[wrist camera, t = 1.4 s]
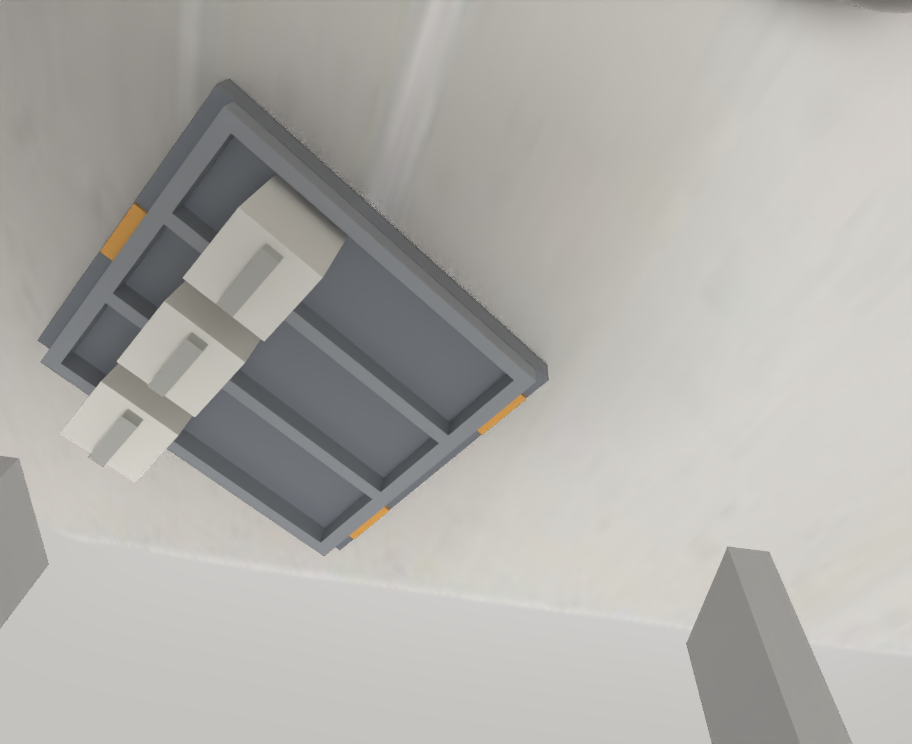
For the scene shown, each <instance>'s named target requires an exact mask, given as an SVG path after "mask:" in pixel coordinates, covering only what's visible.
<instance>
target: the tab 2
mask: <svg viewBox="0 0 912 744" xmlns="http://www.w3.org/2000/svg"><path fill="white" fill-rule="evenodd" d="M147 386H148V384H147V383H146V382H144V381H143V380H142V379H140V378H139V377H137V376H136V375H134V374H133V373H132V372H130V371H129V370H127V369H126V368H125V367H123V366H122V365H120V364H119V363H118V364H117V365H116V366H115V368H114V369H113V370H112V371H111V372H110V373H109V374H108V375H107V376H106V377H105V378H104V379H103V380H102V381H101V382H100V383H99V384H98V386H97V387H96V388H95V389H94V391H93V392H92V393H91V394H90V396H89V397H88V398H87V399H86V401H85V402H84V403H83V405H82V406H81V407H80V408H79V410H78V411H77V412H76V413H75V415H74V416H73V417H72V418H71V420H70V421H69V422H68V424H67V425H66V426H65V427H64V429H63V430H62V431H61V432H60V434H61V435H62V436H64V437H65V438H67V439H68V440H70V441H71V442H73V443H74V444H76V445H77V446H79V447H81V448H82V449H84V450H85V451H87V452H88V453H90V455H89V456H88V458H90V459H91V460H93V461H95V462H96V463H98V464H99V465H101V466H102V467H103V466H104V465H105V464H106V465H108V466H109V467H111V468H113V469H114V470H116V471H117V472H119V473H120V474H122V475H123V476H125V477H126V478H128V479H129V480H131V481H132V482H134V483H135V482H136V481H137V480H138V479H139V478H140V477H141V476H142V475H143V474H144V473H145V472H146V470H147V469H148V468H149V467H150V466H151V465H152V464H153V463H154V462H155V461H156V460H157V458H158V457H159V456H160V455H161V454H162V453H163V452H164V451H165V450H166V449H167V447H168V446H169V445H170V444H171V443H172V442H173V441H174V440H175V439H176V438H177V437H178V435H179V434H180V433H181V431H182V430H183V428H184V427H185V426H186V424H187V423H188V421H189V420H190V419H191V417H192V415H191V414H189V413H188V412H187V411H185V410H184V409H182V408H181V407H180V406H178V405H177V404H175V403H174V402H172V401H171V400H170V399H168V398H167V397H165V396H164V397H162V396H160V395H159V394H157V393H156V392H154V391H153V390H152V389H150V388H149V387H147Z"/></svg>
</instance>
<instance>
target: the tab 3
mask: <svg viewBox="0 0 912 744" xmlns="http://www.w3.org/2000/svg"><path fill="white" fill-rule="evenodd" d="M347 237H348V235H347V234H346V233H345V232H344V231H342V230H341V229H340V228H339V227H338V226H337V225H336V224H334V223H333V222H332V221H331V220H330V219H329V218H328V217H326V216H325V215H324V214H323V213H322V212H321V211H320V210H318V209H317V208H316V207H315V206H314V205H313V204H312V203H310V202H309V201H308V200H307V199H306V198H305V197H304V196H302V195H301V194H300V193H299V192H298V191H297V190H296V189H294V188H293V187H292V186H291V185H290V184H289V183H287V182H286V181H285V180H284V179H283V178H282V177H281V176H279V175H278V174H276V175H274V176H273V177H272V178H271V179H270V180H269V181H268V182H266V183H265V184H264V185H263V186H262V187H261V188H260V189H259V190H257V191H256V192H255V193H254V194H253V195H252V196H251V197H250V198H248V199H247V200H246V201H245V202H244V203H243V204H242V205H240V206H239V207H238V209H237V210H236V211H235V212H234V214H233V215H232V216H231V217H230V219H229V220H228V221H227V222H226V224H225V225H224V226H223V227H222V229H221V230H220V231H219V233H218V234H217V235H216V236H215V238H214V239H213V240H212V241H211V243H210V244H209V245H208V246H207V248H206V249H205V250H204V252H203V253H202V254H201V255H200V257H199V258H198V259H197V260H196V262H195V263H194V264H193V265H192V267H191V268H190V269H189V270H188V272H187V273H186V274H185V276H184V277H183V279H184V280H185V281H187V282H188V283H189V284H191V285H192V286H193V287H194V288H196V289H197V290H198V291H200V292H201V293H202V294H203V295H205V296H206V297H207V298H209V299H210V300H211V301H212V302H214V303H215V304H216V305H218V306H219V307H220V308H221V309H223V310H224V311H225V312H227V313H228V314H229V315H230V316H232V317H233V318H234V319H236V320H237V321H238V322H239V323H241V324H242V325H243V326H245V327H246V328H247V329H248V330H250V331H251V332H252V333H254V334H255V335H256V336H257V337H259V338H260V339H261V340H263V341H265V340H266V339H267V338H268V337H269V336H270V335H271V334H272V333H273V332H274V330H275V329H276V328H277V327H278V326H279V325H280V324H281V323H282V322H283V321H284V320H285V318H286V317H287V316H288V315H289V314H290V313H291V312H292V311H293V310H294V309H295V308H296V306H297V305H298V304H299V303H300V302H301V301H302V300H303V299H304V298H305V297H306V295H307V294H308V293H309V292H310V291H311V290H312V289H313V288H314V287H315V286H316V285H317V283H318V282H319V281H320V280H321V279H322V278H323V276H324V275H325V273H326V271H327V270H328V268H329V267H330V265H331V263H332V262H333V260H334V258H335V257H336V255H337V253H338V252H339V250H340V248H341V247H342V245H343V243H344V242H345V240H346V238H347Z"/></svg>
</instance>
